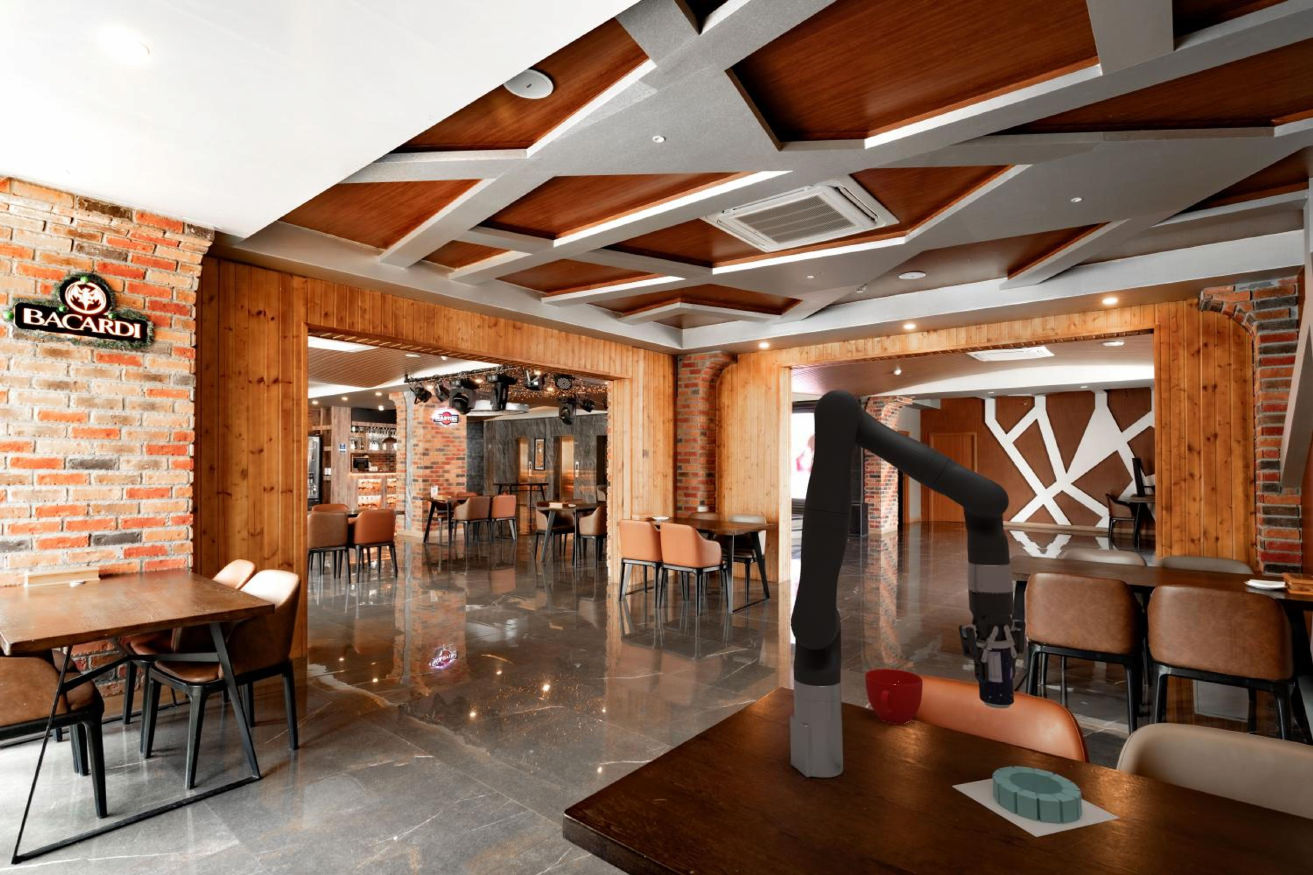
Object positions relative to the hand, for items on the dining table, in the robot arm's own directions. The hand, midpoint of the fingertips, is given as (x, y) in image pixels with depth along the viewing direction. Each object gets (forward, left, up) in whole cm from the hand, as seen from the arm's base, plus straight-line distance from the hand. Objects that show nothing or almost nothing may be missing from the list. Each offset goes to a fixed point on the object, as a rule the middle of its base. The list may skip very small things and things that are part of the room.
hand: (995, 679), depth 120 cm
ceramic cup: (+4, +35, -20) cm, 41 cm away
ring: (+1, -7, -19) cm, 20 cm away
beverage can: (0, 0, -5) cm, 5 cm away
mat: (+1, -6, -20) cm, 21 cm away
